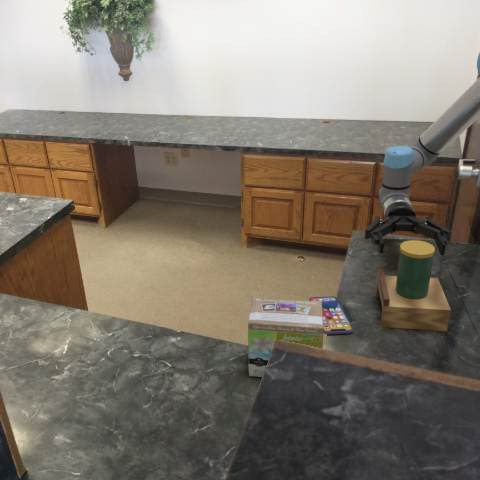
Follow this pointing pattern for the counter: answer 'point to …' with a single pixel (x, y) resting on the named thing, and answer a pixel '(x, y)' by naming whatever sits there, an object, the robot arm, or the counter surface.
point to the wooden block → (412, 306)
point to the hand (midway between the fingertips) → (412, 249)
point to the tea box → (281, 327)
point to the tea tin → (414, 269)
